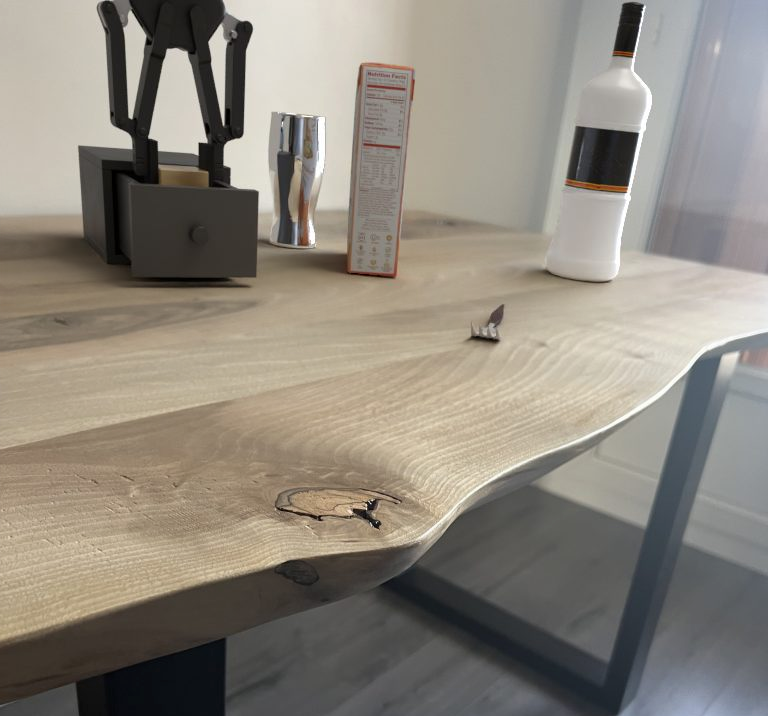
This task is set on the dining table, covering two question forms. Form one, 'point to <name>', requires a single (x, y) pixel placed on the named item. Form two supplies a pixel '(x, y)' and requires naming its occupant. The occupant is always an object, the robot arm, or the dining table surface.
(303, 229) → the beer glass
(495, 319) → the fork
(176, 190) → the grey knobbed drawer
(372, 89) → the cracker box
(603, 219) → the vodka
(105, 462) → the dining table surface
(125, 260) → the small drawer box
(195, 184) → the block
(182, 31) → the robot arm
